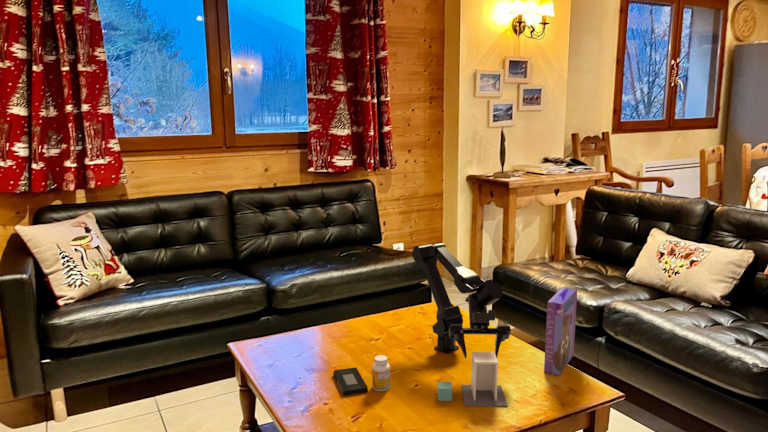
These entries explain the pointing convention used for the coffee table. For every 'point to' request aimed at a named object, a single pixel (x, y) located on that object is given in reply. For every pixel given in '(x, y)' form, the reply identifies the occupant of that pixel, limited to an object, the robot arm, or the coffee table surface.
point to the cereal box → (560, 330)
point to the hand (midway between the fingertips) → (481, 357)
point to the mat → (484, 397)
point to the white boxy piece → (484, 372)
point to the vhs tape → (350, 381)
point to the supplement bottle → (381, 373)
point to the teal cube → (444, 391)
